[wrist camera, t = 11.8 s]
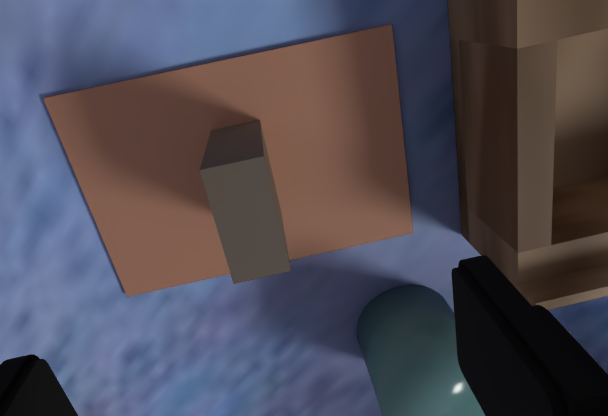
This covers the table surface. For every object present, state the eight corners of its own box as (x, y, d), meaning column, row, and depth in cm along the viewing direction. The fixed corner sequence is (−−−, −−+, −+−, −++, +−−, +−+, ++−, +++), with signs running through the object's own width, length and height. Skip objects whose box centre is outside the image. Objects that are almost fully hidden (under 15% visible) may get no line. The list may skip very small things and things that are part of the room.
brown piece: (387, 23, 22) (442, 30, 16) (408, 226, 26) (457, 293, 20) (49, 95, 22) (-30, 131, 15) (130, 288, 26) (93, 376, 20)
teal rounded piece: (349, 298, 27) (375, 371, 22) (447, 275, 27) (497, 341, 22) (364, 373, 30) (390, 456, 24) (453, 352, 30) (500, 429, 24)
